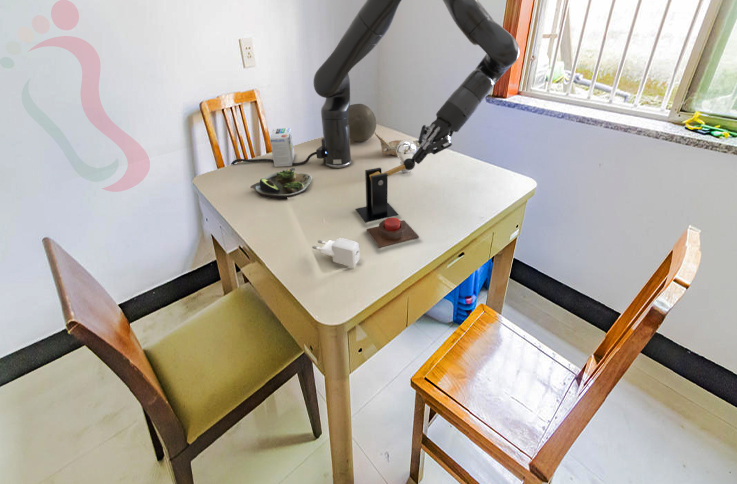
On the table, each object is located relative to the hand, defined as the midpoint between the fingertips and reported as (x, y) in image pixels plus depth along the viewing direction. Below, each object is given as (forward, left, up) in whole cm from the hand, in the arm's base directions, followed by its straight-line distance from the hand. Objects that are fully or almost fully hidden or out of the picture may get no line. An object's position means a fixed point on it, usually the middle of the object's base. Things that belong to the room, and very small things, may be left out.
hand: (415, 161), depth 102 cm
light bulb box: (-55, +16, -14) cm, 59 cm away
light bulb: (-9, +21, -14) cm, 27 cm away
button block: (0, -17, -14) cm, 22 cm away
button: (0, -17, -11) cm, 20 cm away
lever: (-4, -4, -3) cm, 7 cm away
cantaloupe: (-37, +44, -14) cm, 59 cm away
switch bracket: (-8, -8, -14) cm, 18 cm away
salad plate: (-43, -3, -14) cm, 46 cm away
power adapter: (-9, -31, -15) cm, 36 cm away
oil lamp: (-17, +38, -14) cm, 44 cm away
